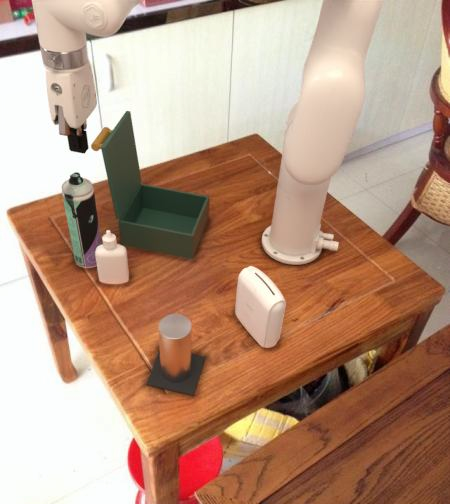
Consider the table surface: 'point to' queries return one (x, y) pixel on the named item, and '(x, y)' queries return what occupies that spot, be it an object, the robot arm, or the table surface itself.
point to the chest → (164, 221)
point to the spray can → (82, 219)
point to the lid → (120, 162)
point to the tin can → (175, 347)
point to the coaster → (181, 387)
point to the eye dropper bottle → (112, 261)
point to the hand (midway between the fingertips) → (79, 149)
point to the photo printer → (260, 306)
